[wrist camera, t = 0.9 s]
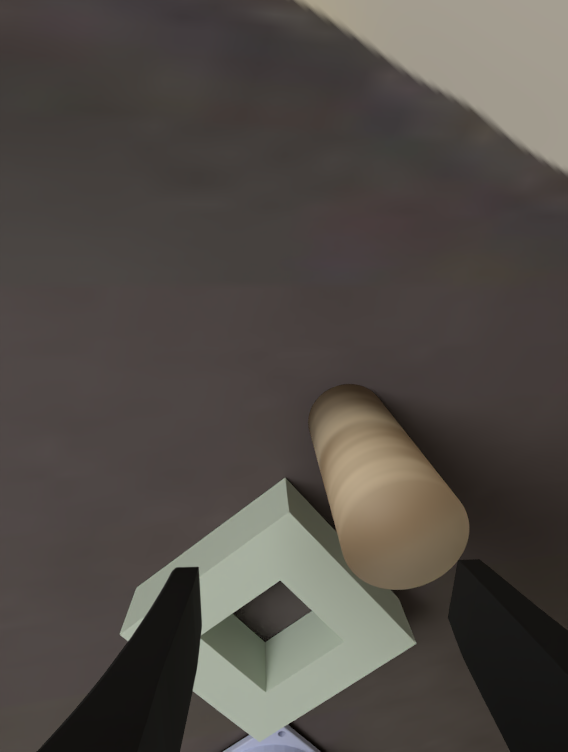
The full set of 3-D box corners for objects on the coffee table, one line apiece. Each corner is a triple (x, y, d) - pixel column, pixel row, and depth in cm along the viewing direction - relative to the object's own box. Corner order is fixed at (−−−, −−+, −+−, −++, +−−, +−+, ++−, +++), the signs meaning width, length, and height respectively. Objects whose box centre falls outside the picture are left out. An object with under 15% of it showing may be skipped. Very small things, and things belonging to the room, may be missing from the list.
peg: (399, 424, 21) (492, 542, 13) (338, 469, 22) (388, 610, 13) (355, 368, 20) (424, 456, 12) (292, 416, 21) (315, 533, 12)
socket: (398, 598, 25) (416, 643, 22) (259, 689, 27) (259, 742, 24) (285, 477, 22) (289, 511, 19) (136, 587, 24) (119, 634, 21)
